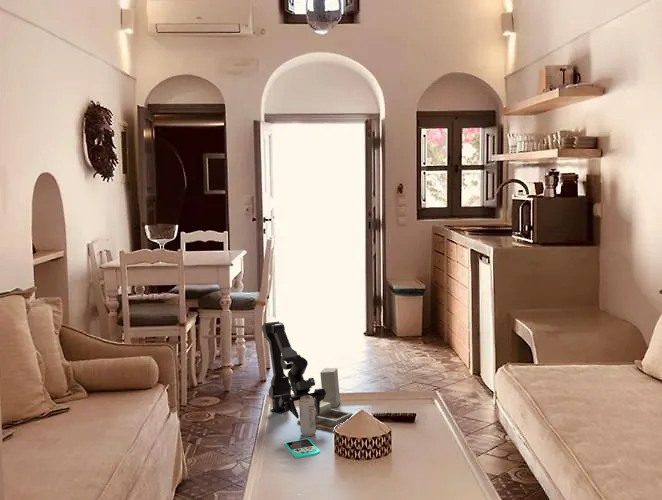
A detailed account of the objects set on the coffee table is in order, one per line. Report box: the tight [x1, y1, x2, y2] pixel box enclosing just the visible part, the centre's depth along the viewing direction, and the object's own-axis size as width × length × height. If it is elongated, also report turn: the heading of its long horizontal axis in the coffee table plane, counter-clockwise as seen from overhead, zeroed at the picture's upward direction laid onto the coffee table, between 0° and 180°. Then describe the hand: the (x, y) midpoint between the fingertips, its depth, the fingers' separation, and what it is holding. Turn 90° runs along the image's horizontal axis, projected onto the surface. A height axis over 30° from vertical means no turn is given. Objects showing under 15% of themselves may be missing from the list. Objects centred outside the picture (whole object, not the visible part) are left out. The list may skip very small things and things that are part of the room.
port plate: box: [296, 400, 354, 433], centre depth 303 cm, size 20×16×6 cm
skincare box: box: [319, 367, 341, 408], centre depth 326 cm, size 8×7×16 cm
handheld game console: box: [283, 437, 321, 459], centre depth 275 cm, size 10×16×1 cm, turn 19°
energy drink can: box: [298, 395, 317, 437], centre depth 290 cm, size 6×6×15 cm
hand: (308, 416), depth 288 cm, fingers open, 8 cm apart
